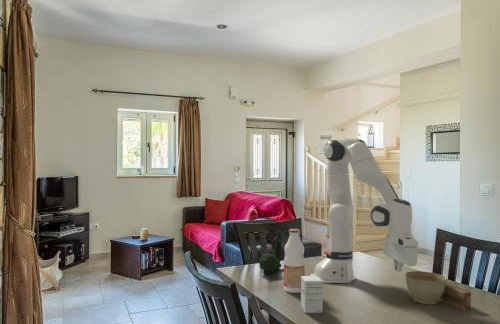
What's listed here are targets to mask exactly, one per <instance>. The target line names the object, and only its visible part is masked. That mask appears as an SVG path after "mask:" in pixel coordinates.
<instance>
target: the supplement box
mask: <svg viewBox="0 0 500 324" xmlns="http://www.w3.org/2000/svg"><path fill="white" fill-rule="evenodd" d="M323 285H324V283H323V281H322V280H321V279H320V278H319V277H318V276H310V275H304V276H301V293H300V307H301V309H302V310H303V312H304V314H313V313H314V314H320V313H321V314H322V313H323V309H324V308H323V307H324V306H323V303H324V302H323V300H324V299H323V298H324V292H323V291H324V290H323V289H324V286H323Z"/></svg>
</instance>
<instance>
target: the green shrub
mask: <svg viewBox="0 0 500 324" xmlns="http://www.w3.org/2000/svg"><path fill="white" fill-rule="evenodd" d="M273 242H274V244H275V245H274V248H273V249H274V251H273V254H272V253H270V252H268V253H267V252H266V253H264V254H262V255H261V256H260V257H259V261H258V264H259V269H261V270H263V271H262V273H263V275H264V276H267V275H269V276H271V274H272V272H273V273H277V272H280V270H281V268H282V264H281V261H282V260H283V258H282V256H281V255H283V254H284V252H282V250H283V248H284V247H283V246H282V245H283V242H282V241H281V240H280V238H279V237H278V236H275V237H274V238H273Z"/></svg>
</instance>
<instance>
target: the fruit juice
mask: <svg viewBox="0 0 500 324" xmlns="http://www.w3.org/2000/svg"><path fill="white" fill-rule="evenodd" d="M288 231H289V236H288V240H287V242H286V244H284V254H285V256H284V259H283V289H284V291H285V292H287V293H291V294H299V293H300V294H301V276H305V262H306V261H305V257H304V254H305V246H304V244H303V242H302V239H301V237H300V234H301V230H300V229H299V228H291V229H289V230H288Z"/></svg>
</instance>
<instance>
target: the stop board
mask: <svg viewBox="0 0 500 324" xmlns="http://www.w3.org/2000/svg"><path fill="white" fill-rule="evenodd" d="M438 300H440V301H442V302H444V303H446V304H448V305H450V306H452V307H454V308H457V309H459V310H461V311H470V310H471V309H472V308H471V307H472V304H471V303H472V292H471V291H468V290H467V289H465V288H461V287H459V286H457V285H454V284H452V283H450V282H447V281H446V286H445V290H444V293H443V294H442V296H441V297H440V298H439V299H438Z"/></svg>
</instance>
